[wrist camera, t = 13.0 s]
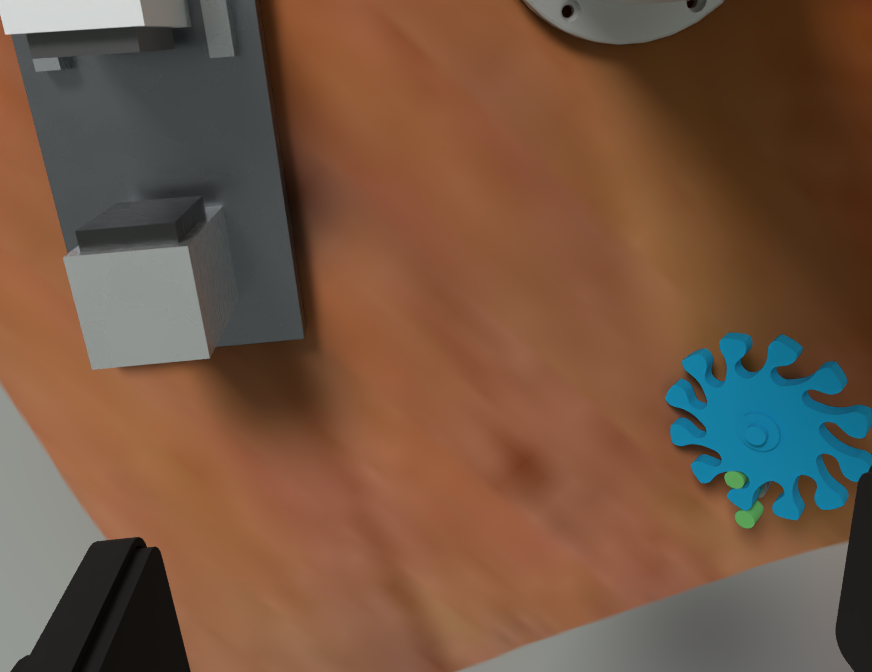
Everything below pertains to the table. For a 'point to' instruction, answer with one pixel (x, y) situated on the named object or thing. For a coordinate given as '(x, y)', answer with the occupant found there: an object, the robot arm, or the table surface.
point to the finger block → (94, 25)
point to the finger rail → (171, 190)
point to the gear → (768, 428)
